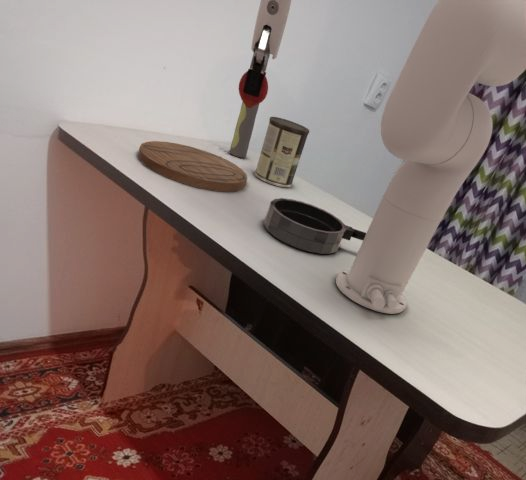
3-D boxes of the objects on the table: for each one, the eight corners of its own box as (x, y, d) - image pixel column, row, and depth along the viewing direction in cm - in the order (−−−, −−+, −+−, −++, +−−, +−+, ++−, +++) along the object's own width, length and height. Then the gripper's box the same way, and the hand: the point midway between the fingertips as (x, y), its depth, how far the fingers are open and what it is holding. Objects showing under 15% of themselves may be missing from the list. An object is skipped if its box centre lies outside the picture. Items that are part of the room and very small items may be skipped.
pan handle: (396, 255, 92) (401, 246, 91) (340, 237, 91) (344, 227, 90) (394, 251, 94) (398, 241, 93) (339, 233, 93) (343, 223, 92)
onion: (258, 114, 91) (270, 68, 86) (231, 103, 91) (242, 58, 86) (264, 111, 96) (276, 68, 91) (238, 102, 96) (249, 58, 91)
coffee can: (277, 174, 127) (293, 120, 120) (298, 189, 121) (317, 133, 113) (246, 170, 121) (262, 113, 113) (268, 185, 115) (286, 126, 107)
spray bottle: (240, 153, 134) (260, 77, 123) (248, 159, 131) (269, 82, 120) (226, 151, 131) (245, 73, 120) (233, 157, 128) (253, 77, 117)
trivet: (117, 145, 105) (118, 136, 104) (205, 153, 122) (206, 146, 121) (178, 190, 92) (180, 180, 91) (265, 193, 109) (268, 185, 108)
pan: (341, 263, 87) (350, 241, 84) (262, 238, 85) (269, 215, 82) (334, 234, 100) (342, 214, 97) (265, 212, 98) (271, 191, 95)
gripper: (301, -14, 75) (268, 104, 85) (299, -6, 89) (271, 95, 99) (257, -32, 74) (228, 91, 84) (262, -21, 88) (237, 83, 98)
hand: (252, 92), depth 91 cm, fingers closed on onion, 5 cm apart
